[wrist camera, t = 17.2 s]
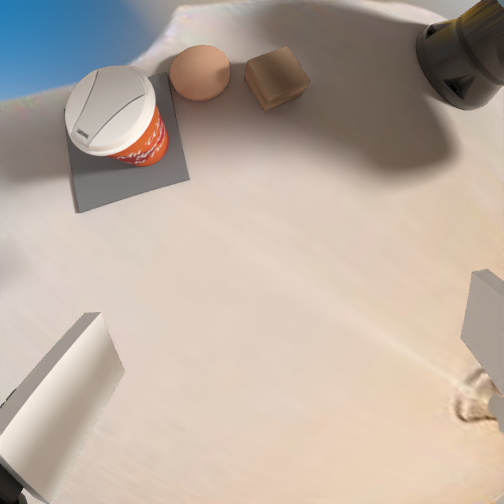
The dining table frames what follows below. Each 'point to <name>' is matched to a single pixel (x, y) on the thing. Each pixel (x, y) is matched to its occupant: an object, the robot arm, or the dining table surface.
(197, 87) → the tan rounded disc
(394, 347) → the dining table surface
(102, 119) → the paper cup
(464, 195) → the dining table surface
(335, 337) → the dining table surface
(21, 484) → the robot arm
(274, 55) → the walnut block
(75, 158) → the mat
